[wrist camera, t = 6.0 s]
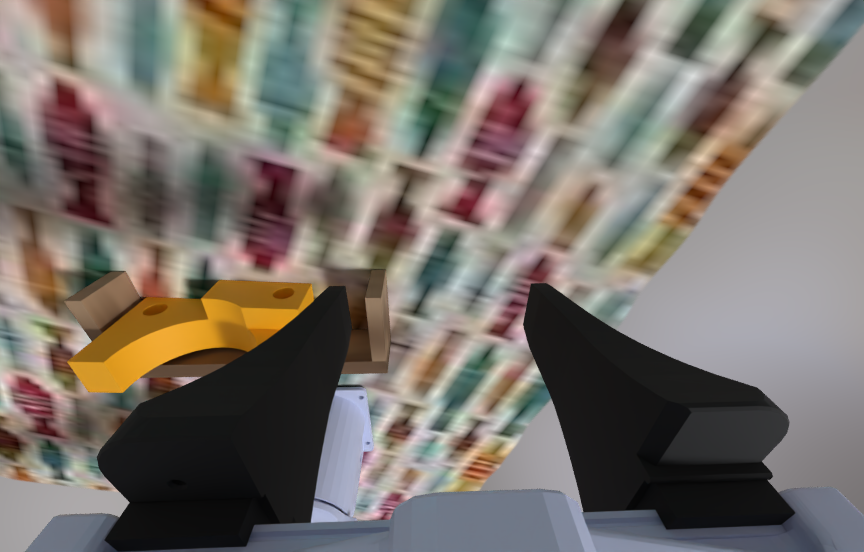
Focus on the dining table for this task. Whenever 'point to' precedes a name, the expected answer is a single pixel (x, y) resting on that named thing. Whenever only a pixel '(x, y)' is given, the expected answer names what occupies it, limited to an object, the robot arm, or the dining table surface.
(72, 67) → the dining table surface
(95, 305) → the bracket
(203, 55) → the dining table surface
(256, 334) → the pipe clamp
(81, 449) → the dining table surface
